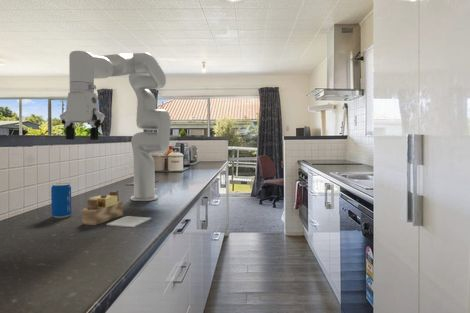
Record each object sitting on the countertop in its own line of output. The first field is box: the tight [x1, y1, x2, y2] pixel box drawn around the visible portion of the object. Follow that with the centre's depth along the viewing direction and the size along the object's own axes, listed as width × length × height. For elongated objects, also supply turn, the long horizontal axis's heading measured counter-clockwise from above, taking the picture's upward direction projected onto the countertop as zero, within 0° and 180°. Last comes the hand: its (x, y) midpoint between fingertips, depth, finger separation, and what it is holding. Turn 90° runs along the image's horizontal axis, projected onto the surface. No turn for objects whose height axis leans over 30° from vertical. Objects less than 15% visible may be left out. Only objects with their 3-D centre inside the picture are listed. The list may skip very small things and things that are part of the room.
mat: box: [106, 215, 152, 228], centre depth 116 cm, size 12×10×1 cm
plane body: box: [81, 190, 124, 226], centre depth 119 cm, size 16×5×9 cm, turn 166°
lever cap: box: [88, 194, 118, 208], centre depth 119 cm, size 7×6×4 cm
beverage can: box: [50, 182, 73, 219], centre depth 122 cm, size 6×6×12 cm
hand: (82, 139), depth 114 cm, fingers open, 9 cm apart
